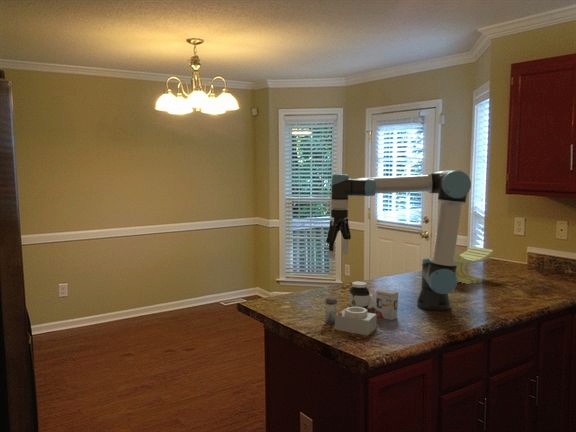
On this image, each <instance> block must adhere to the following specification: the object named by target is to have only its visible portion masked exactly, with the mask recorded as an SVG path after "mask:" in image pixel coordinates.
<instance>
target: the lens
mask: <svg viewBox="0 0 576 432" xmlns="http://www.w3.org/2000/svg"><path fill="white" fill-rule="evenodd" d="M337 305H338V299H337V298H331V297H330V298H329V297H328V298H325V325H335V315H336V314H337Z"/></svg>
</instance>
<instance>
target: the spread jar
mask: <svg viewBox="0 0 576 432" xmlns="http://www.w3.org/2000/svg"><path fill="white" fill-rule="evenodd" d="M348 290H349V291H348V302H349V307H362V308H365V309H367V308H368V307H369V306H370V304H371V306H372V308H373V309H376V300H375V299H374V296H373V294H372V293H370V291H369V288H368V283H367V282H365V281H357V280H356V281H352V282H351V287H350V288H349V289H348Z"/></svg>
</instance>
